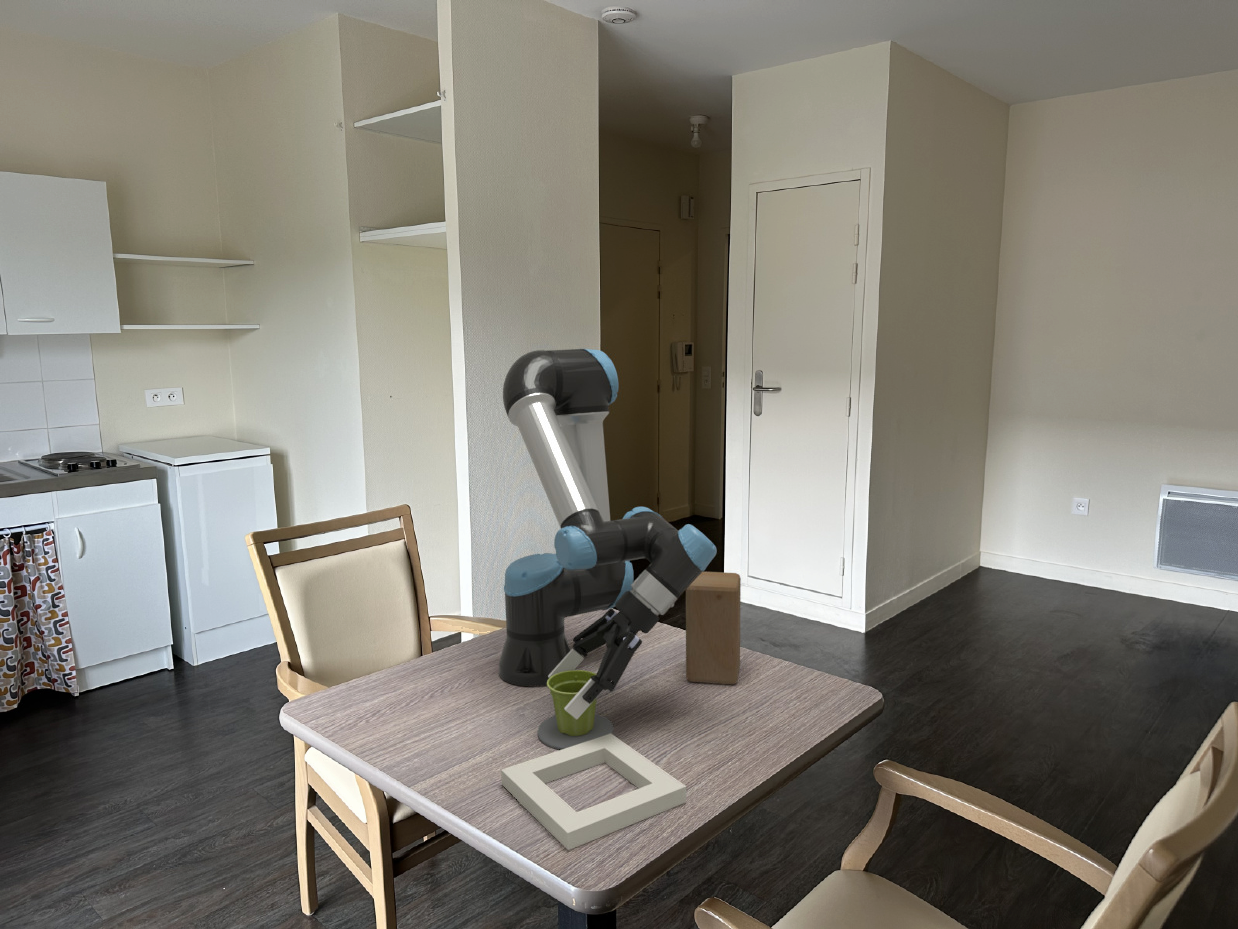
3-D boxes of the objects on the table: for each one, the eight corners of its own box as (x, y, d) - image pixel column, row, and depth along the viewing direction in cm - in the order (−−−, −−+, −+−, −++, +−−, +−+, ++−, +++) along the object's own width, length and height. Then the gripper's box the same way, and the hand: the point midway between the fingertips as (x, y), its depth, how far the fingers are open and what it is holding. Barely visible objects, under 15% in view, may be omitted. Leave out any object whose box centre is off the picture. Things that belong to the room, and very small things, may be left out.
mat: (524, 728, 147) (524, 725, 147) (588, 708, 154) (588, 705, 154) (562, 759, 136) (562, 755, 136) (628, 736, 143) (628, 733, 143)
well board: (501, 785, 129) (501, 769, 128) (611, 747, 140) (610, 733, 139) (568, 850, 112) (567, 833, 112) (686, 802, 123) (686, 786, 123)
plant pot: (609, 737, 142) (608, 688, 141) (554, 745, 140) (553, 696, 138) (595, 713, 151) (594, 667, 150) (543, 720, 148) (542, 674, 147)
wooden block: (737, 686, 163) (737, 586, 159) (685, 683, 165) (685, 584, 161) (740, 666, 172) (740, 571, 169) (691, 663, 174) (691, 569, 171)
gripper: (684, 641, 134) (595, 743, 133) (638, 594, 158) (562, 680, 156) (652, 612, 132) (561, 716, 131) (610, 570, 156) (532, 657, 154)
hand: (561, 697), depth 144 cm, fingers open, 13 cm apart
